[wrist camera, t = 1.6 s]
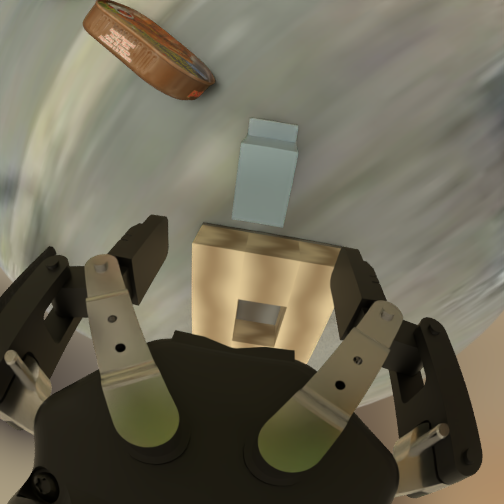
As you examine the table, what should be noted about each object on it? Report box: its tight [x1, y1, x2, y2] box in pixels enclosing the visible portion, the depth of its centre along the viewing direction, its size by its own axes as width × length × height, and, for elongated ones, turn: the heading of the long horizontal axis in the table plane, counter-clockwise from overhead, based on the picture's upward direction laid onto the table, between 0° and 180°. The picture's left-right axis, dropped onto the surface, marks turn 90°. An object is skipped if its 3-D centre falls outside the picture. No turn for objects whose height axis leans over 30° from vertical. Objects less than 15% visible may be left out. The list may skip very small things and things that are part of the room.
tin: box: [83, 0, 215, 100], centre depth 17 cm, size 15×3×8 cm, turn 42°
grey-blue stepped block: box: [232, 118, 299, 228], centre depth 23 cm, size 4×9×8 cm, turn 172°
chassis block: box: [192, 223, 342, 364], centre depth 34 cm, size 16×20×4 cm
